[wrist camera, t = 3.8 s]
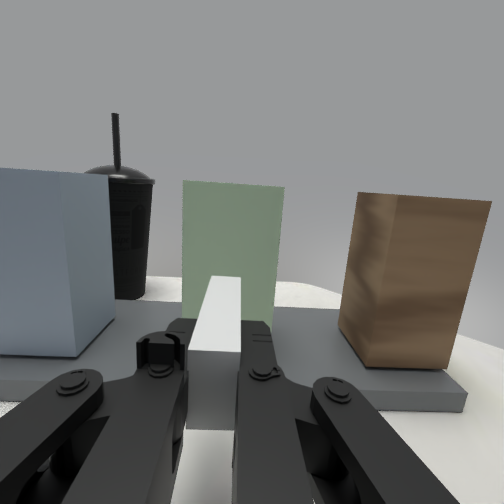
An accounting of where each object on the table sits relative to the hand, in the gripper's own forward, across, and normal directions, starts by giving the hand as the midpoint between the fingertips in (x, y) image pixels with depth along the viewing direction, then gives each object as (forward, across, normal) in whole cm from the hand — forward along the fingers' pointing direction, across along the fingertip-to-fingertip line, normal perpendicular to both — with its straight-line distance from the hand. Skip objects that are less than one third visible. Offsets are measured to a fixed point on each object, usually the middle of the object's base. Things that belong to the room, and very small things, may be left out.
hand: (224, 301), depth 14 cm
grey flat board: (+8, 0, -8) cm, 11 cm away
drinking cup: (+19, -13, -8) cm, 24 cm away
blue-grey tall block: (+7, -13, -6) cm, 16 cm away
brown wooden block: (+7, +13, -6) cm, 16 cm away
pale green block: (+7, 0, -6) cm, 9 cm away
